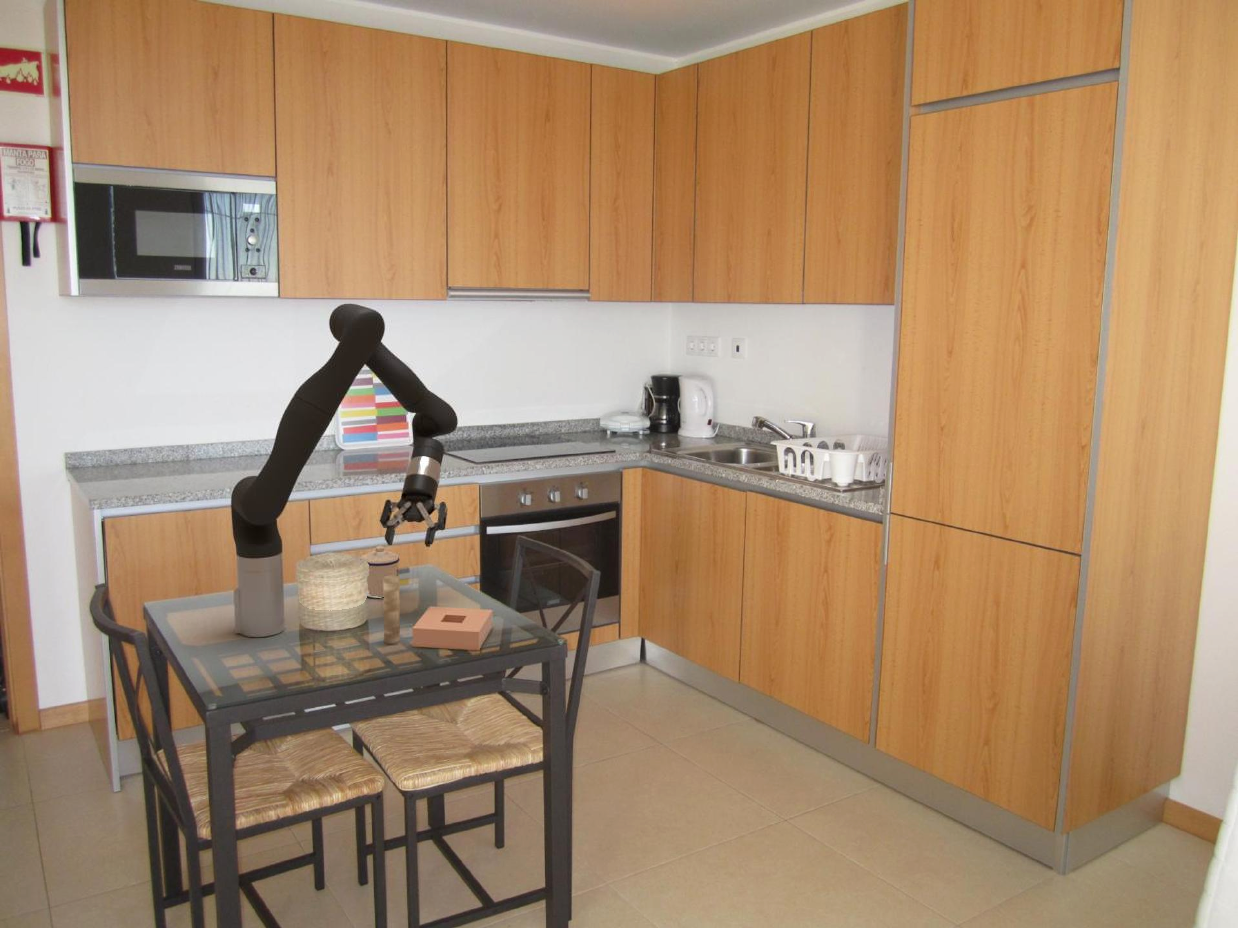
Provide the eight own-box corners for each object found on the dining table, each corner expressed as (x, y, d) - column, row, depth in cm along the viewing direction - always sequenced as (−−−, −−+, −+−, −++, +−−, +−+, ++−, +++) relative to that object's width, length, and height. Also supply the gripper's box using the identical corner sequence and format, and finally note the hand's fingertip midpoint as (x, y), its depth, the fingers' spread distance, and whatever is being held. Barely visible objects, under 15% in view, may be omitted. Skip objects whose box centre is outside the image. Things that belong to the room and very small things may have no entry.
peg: (382, 643, 212) (381, 579, 210) (386, 638, 215) (386, 575, 213) (397, 644, 212) (396, 580, 209) (401, 639, 215) (401, 575, 213)
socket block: (412, 646, 211) (412, 628, 211) (430, 623, 225) (430, 606, 224) (478, 650, 210) (478, 631, 210) (492, 627, 224) (492, 609, 223)
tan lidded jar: (404, 596, 243) (403, 549, 241) (366, 601, 239) (365, 553, 237) (390, 582, 253) (390, 537, 251) (353, 586, 249) (353, 540, 247)
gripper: (387, 471, 228) (371, 534, 219) (449, 473, 226) (436, 537, 217) (395, 488, 234) (381, 551, 225) (456, 490, 232) (443, 553, 224)
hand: (408, 544), depth 221 cm, fingers open, 8 cm apart
